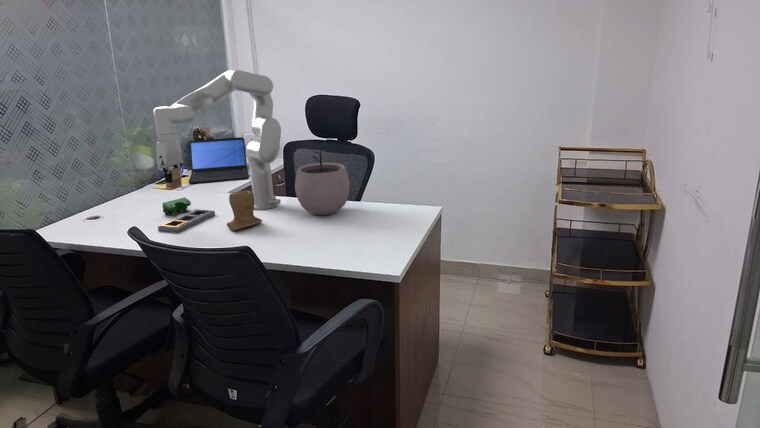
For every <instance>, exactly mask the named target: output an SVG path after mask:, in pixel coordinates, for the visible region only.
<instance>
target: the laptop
mask: <svg viewBox="0 0 760 428" xmlns="http://www.w3.org/2000/svg"><path fill="white" fill-rule="evenodd" d="M188 143H189V153H190V154H189V155H190V156H189V158H190V168H191V169H190V170H191V174H190V178H189V180H188V184H189V185H194V184H195V185H197V184H204V183H205V184H206V183H207V184H208V183H216V182H217V183H218V182H229V181H230V182H231V181H241V180H247V179H249V173H248V172H249V171H248V163H247V161H248V160H247V154H246V144H245V143H246V142H245V138H244V137H225V138H213V139H212V138H211V139H209V138H208V139H199V140H198V139H196V140H189V142H188Z"/></svg>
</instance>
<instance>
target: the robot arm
mask: <svg viewBox="0 0 760 428" xmlns="http://www.w3.org/2000/svg"><path fill="white" fill-rule="evenodd" d="M273 90H274V83H273V81H272V79H271V78H270V77H268V76H267V75H262V74H257V73H254V72H248V71H245V70H242V69H228V70H227V71H225V72H223V73H221V74H220V75H218V76H216V78H214V79H212V80H211V81H210V82H208V83H206V84H205V85H203V86H201V87H200V88H198V89H196V90H195V91H193V92H191V93H189V94H187V95H185V96H183V97H182V98H180V99H179V100H177V101H176V102H174V103H173V104H172V105H171V106H158V107H155V108H154V109H153V116H154V123H155V124H154V125H155V131H156V139H157V142H156V146H155V147H156V148H155V149H156V151H155V153H156V154H155V156H156V163H157V169H159V170H160V171H161V172H162V173H163V174H164V175H163V176H164V180H165V184H166V183H172V175H171V173H170V168H171V166H172V167H173V168H180V171H181V170H182V165H183V164H184V162H185V160H184V159H183V156H182V150H181V146H180V142H179V139H178V133H177V127H176V125H177V124H179V125H188V124H191V123H192V122H194V121H195V119H196V112H197V111H198V110H200V109H202V108H207V107H211V106H214V105H217V104H218V103H219V102H221V101H222V100H223V99H225V98H226V97H228V96H229V95H231V94H232V93H233V92H235V91H239V92H243V93H247V94H249V95H250V97H251V98H252V100H253V113H252V120H251V132H252V134H253V135H255V136H256V137H259V138H260V139H259V138H258V139H253V140H250V141H248V143H247V145H246V146H245V151H246V159H247V161H248V166H249V172H250V182H251V192H252V193H253V195H254V200H255V204H254V210H255V211H256V210H257V211H261V210H262V211H263V210H270V209H273V208H276V207H278V205H281V202H282V201H281V199H280V198H277V196H276V195H274V188H273V177H272V168H271V164H272V163H273V162H275V160H277V157H278V155H279V151H280V144H281V143H280V142H281V136H282V135H281V134H282V127H281V124H280V121H278V120H277V119H276V118H275V117H273V111H274V102H273V98H272V95H271V94H272V92H273Z"/></svg>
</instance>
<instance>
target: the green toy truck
mask: <svg viewBox="0 0 760 428" xmlns="http://www.w3.org/2000/svg"><path fill="white" fill-rule="evenodd" d="M191 203H192V202H191V200H189V199H188V198H187V197H181V198H177V199H172V200H169V201H165V202H163V203H162V212H163V213H164V214H165V215H174V216H176V215H178V213H179V211H180V212H184V213H185V212H186V213H188V212H187V210H188V206H189V207H190V206H191V205H192V204H191Z"/></svg>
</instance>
